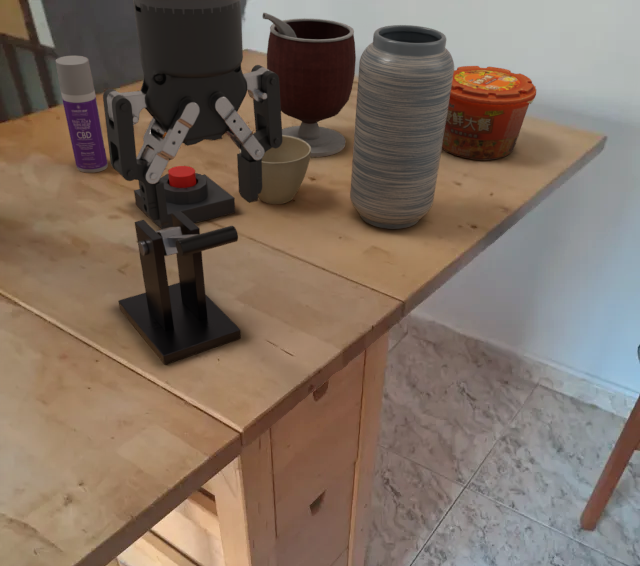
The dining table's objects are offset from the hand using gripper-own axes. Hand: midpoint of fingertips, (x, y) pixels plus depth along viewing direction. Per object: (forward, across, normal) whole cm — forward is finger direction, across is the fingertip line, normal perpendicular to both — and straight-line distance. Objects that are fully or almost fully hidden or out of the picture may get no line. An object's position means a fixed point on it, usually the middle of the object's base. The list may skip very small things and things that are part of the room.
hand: (205, 210), depth 59 cm
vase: (+17, -37, -18) cm, 45 cm away
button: (+13, -13, -34) cm, 39 cm away
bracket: (+17, 0, -9) cm, 19 cm away
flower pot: (+17, -26, -31) cm, 44 cm away
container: (+17, -7, -54) cm, 57 cm away
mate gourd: (+17, -41, -46) cm, 64 cm away
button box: (+17, -13, -34) cm, 40 cm away
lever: (+6, 0, -4) cm, 8 cm away
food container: (+17, -66, -31) cm, 75 cm away
